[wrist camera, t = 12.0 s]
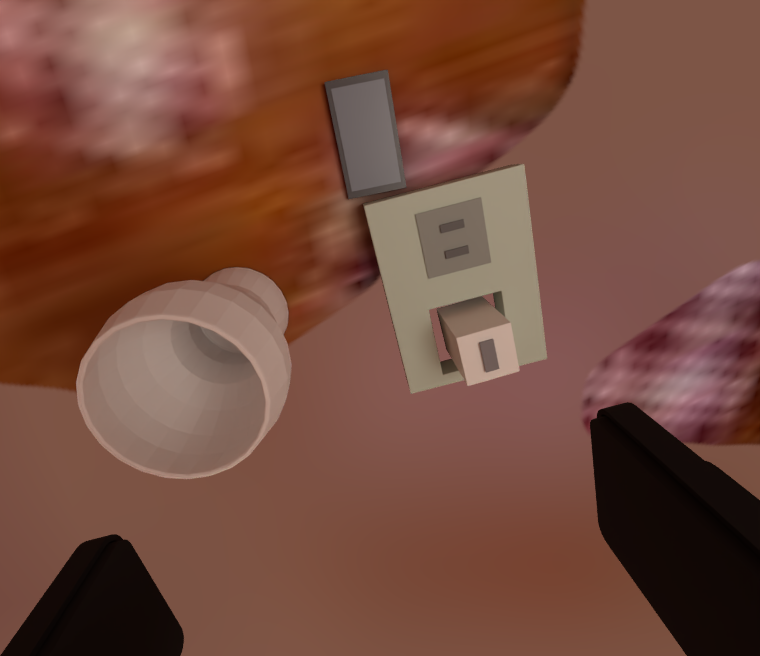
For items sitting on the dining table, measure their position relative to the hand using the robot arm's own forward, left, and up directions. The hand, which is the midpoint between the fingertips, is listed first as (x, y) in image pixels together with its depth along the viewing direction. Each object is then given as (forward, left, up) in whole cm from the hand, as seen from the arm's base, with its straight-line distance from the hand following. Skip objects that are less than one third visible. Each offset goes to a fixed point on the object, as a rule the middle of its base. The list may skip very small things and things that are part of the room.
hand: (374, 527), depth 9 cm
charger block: (+8, +8, -28) cm, 30 cm away
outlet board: (+4, +8, -28) cm, 30 cm away
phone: (-8, +4, -29) cm, 30 cm away
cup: (+2, -10, -28) cm, 30 cm away
